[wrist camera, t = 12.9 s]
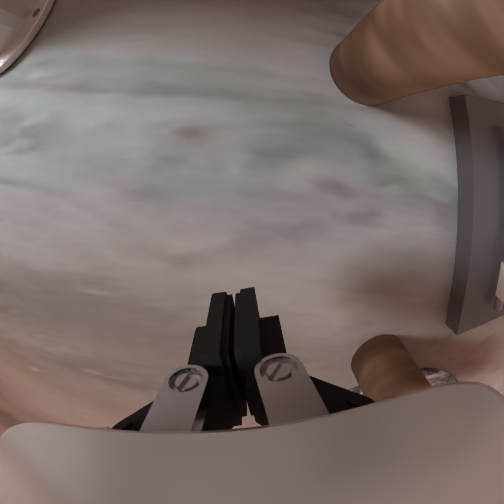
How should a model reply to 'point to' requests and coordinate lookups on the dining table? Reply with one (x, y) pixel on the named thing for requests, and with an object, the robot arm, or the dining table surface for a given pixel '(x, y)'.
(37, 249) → the dining table surface
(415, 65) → the post inner
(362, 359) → the post outer
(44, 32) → the dining table surface
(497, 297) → the switch rocker
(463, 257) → the power strip
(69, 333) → the dining table surface
